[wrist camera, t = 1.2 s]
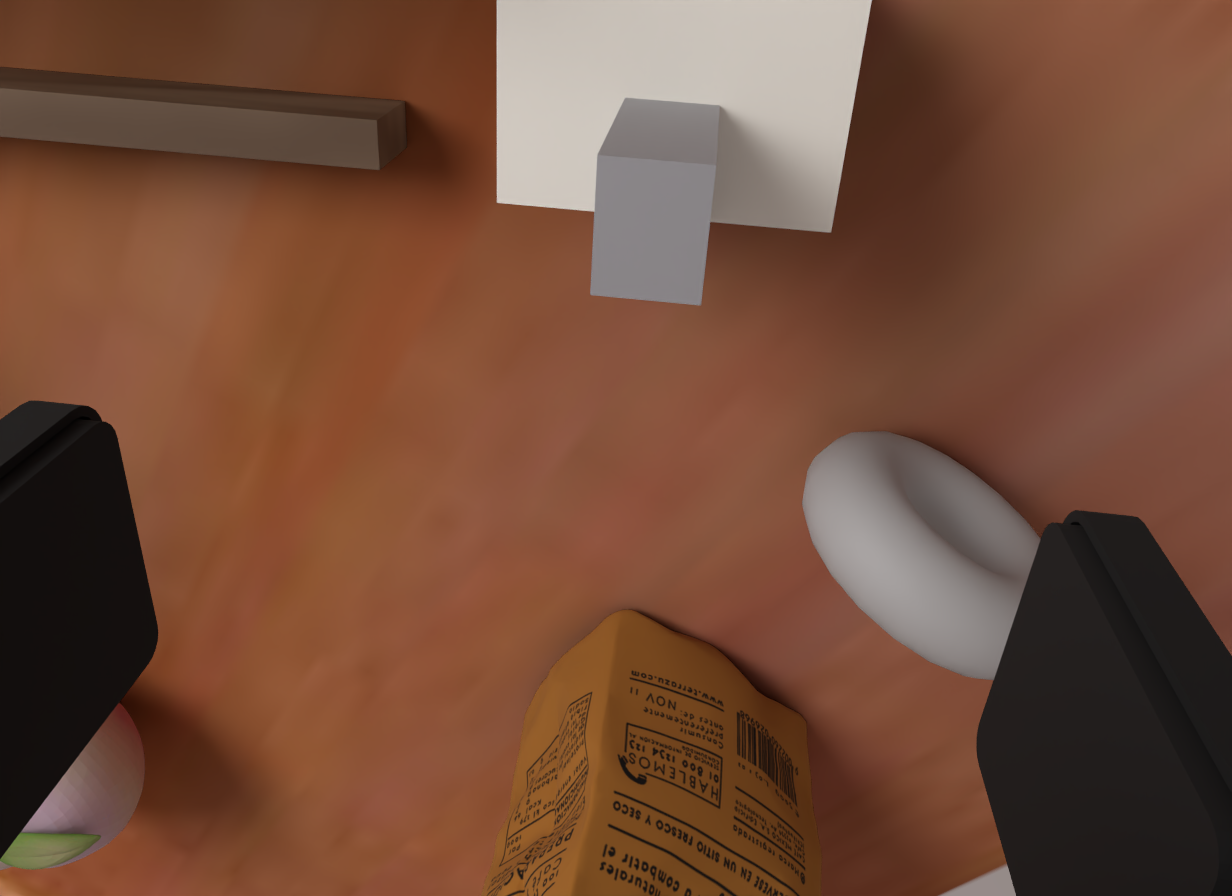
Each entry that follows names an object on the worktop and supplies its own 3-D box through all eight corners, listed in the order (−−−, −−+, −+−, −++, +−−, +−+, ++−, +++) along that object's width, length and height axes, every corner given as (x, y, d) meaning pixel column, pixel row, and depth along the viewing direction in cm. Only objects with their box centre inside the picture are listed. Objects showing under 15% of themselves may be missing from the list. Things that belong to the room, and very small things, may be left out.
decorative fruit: (139, 615, 45) (0, 789, 37) (211, 744, 49) (99, 928, 40) (-35, 635, 47) (-207, 804, 38) (47, 757, 51) (-92, 936, 42)
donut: (775, 441, 37) (788, 610, 29) (830, 372, 36) (860, 528, 27) (986, 561, 39) (1058, 754, 31) (1047, 499, 37) (1142, 685, 29)
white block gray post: (544, -60, 30) (431, -22, 19) (845, -38, 29) (914, 15, 18) (540, 142, 33) (440, 281, 22) (812, 166, 32) (855, 320, 21)
